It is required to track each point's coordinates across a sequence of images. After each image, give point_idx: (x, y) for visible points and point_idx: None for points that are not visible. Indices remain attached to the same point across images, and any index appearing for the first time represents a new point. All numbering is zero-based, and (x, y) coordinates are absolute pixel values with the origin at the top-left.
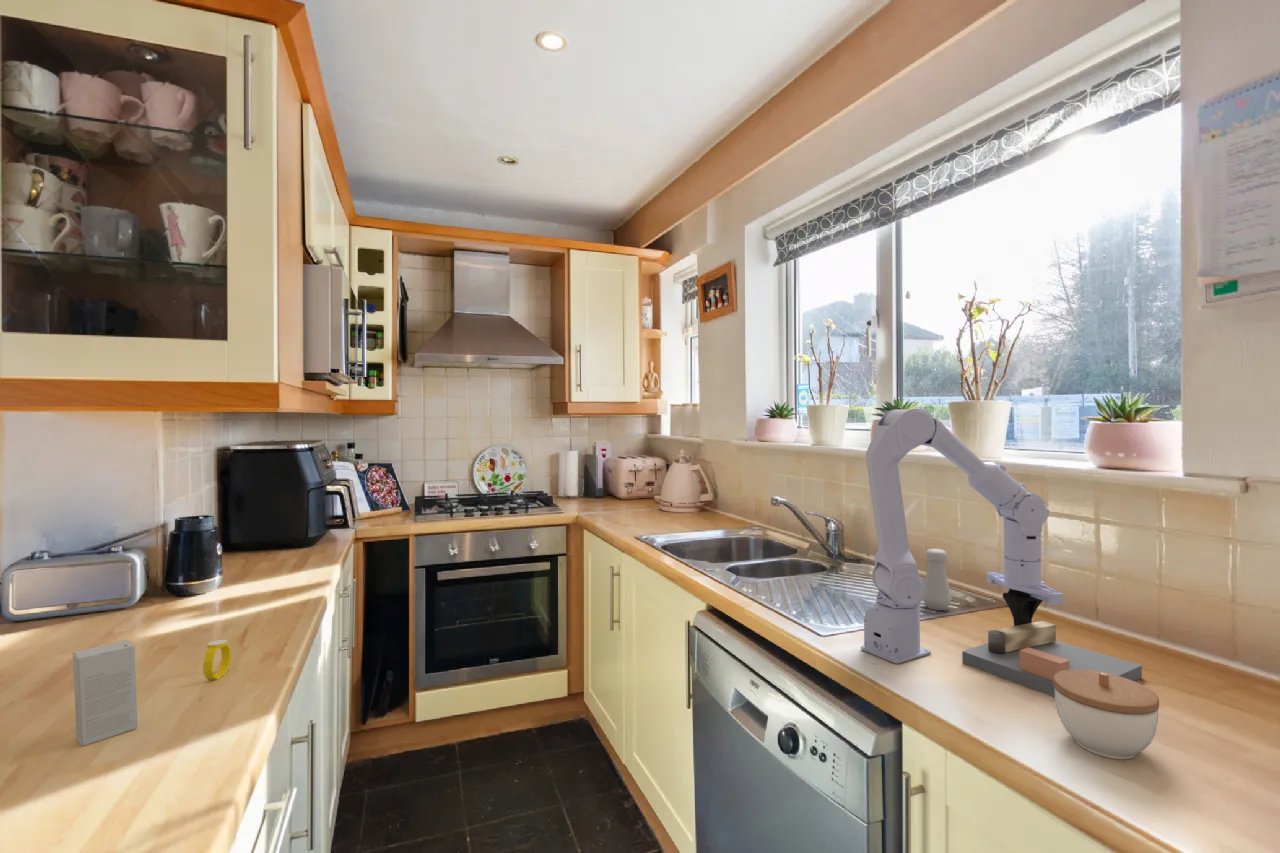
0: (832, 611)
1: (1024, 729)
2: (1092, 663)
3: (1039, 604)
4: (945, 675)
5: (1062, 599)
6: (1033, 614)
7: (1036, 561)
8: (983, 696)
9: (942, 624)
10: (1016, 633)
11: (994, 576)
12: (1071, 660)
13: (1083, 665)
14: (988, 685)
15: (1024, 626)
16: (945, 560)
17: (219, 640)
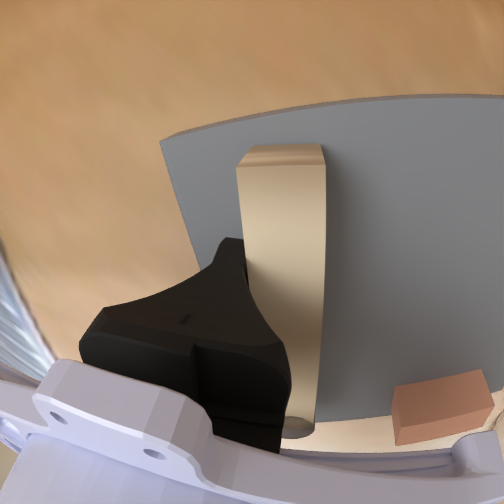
0: (8, 361)
1: (450, 447)
2: (498, 233)
3: (269, 327)
4: (297, 441)
5: (499, 464)
6: (248, 288)
7: None
8: (379, 443)
9: (29, 253)
10: (316, 393)
11: (18, 453)
12: (453, 269)
13: (486, 273)
14: (361, 424)
15: (277, 329)
16: None
17: None
